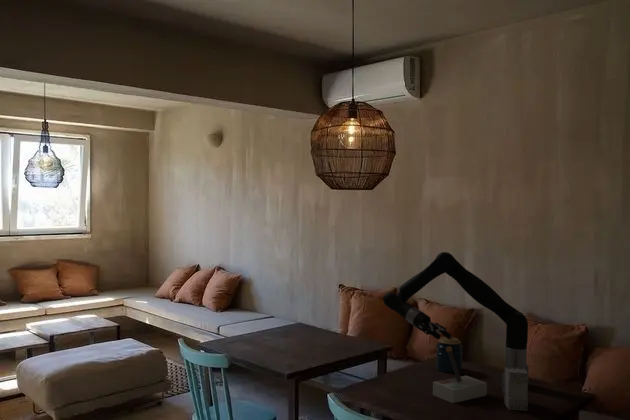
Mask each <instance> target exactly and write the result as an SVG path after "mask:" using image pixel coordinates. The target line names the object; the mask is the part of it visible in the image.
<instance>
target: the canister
mask: <svg viewBox="0 0 630 420" xmlns="http://www.w3.org/2000/svg"><path fill="white" fill-rule="evenodd" d="M437 342H438V343H437V344H435V347H436V348H437V350H436V352H435V353H436V355H435V358H436V359H435V362H436V363H435V367H436V370H438V371H439V372H443V373H451V374H453V373H454V370H453V367H452V364H451V361H450V358H449V355H448V352H447V351H446V348H447V347H448V346H450V347H451V348H452V352H453V355H454V358H455V361H456V364H457V368H458V371H459V373H460V372H462V370H463V351H462V349H463V348H464V347H463V344H461V343H462V341H461V340H460V339H459V338H457V337H453V335H452V334H451V337H450V339H448V338H446V337H445V336H443V337H440V339H437ZM454 374H455V373H454Z"/></svg>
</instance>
